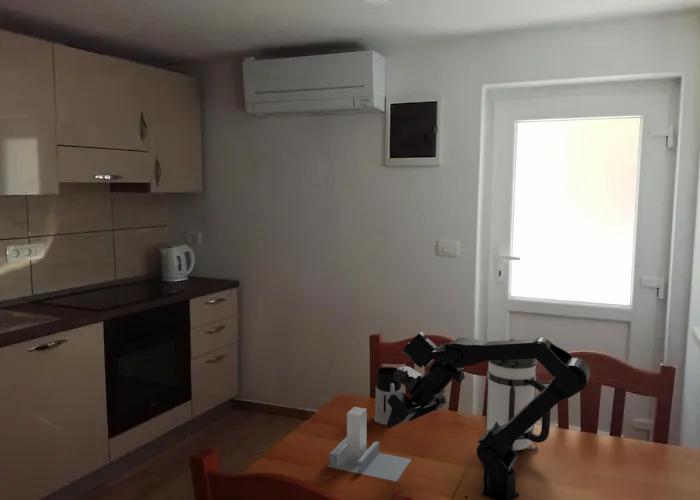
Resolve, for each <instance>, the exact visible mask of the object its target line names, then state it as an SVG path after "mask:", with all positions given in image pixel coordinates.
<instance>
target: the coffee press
mask: <svg viewBox="0 0 700 500" xmlns="http://www.w3.org/2000/svg"><path fill="white" fill-rule="evenodd" d="M510 340H515V338H511V339H510ZM487 362H488V368H487V375H486V376H487V379H486V381H487V384H486V395H487V401H486V404H485V405H486V409H485V410H486V411H485V413H486V414H485V423H486V430H489V429H491V428H492V427H493V425H494V424H495V422H497V423H498V424H499V425H500V426H502V425H504V424H506V423H508V422H509V421H510V420H511V419H512V418H513V417H514V416H515V415H516V414H518V413H519V412H520V411H521V410H522V409H523V408H524V407H525V406H526V405H527V404H528V403H530V402H531V401H532V400H533V399H534V398H535V397H536V390H538V392H539V393H540V392H542V391H543V390H544V389H545V388H546V387H547V386H545V385H544V383H543V382H541V381H539V380H537V373H536V366H537V365H538V360H537V359H516V360H493V361H487ZM551 410H552V409H550V410H549V411H548V412H547V413H546V414H545V415H544V416H543V417H541V430H540V434H538V435H537V434H534V433H535V432H534V431H535V428H534V427H535V424H534V425H532V426H531V427H530V428H529V429H528V430H527V431H526V432H525V433H524V434H522V435H521V436H520V437H519V438H518V439H517V440H516V441H515V442H514V443H513V445H512V446H511V449H512V450H513V451H521V450H525V449H527V448H528V447H529V448H530V449H531V450H532V451H537V450H538V443H543V442H545V441H546V440H547V439H548V437H549V435H550V429H551ZM532 442H533V443H534V445H535V446H536V447H533V445H531V444H532Z"/></svg>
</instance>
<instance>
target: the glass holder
mask: <svg viewBox="0 0 700 500" xmlns="http://www.w3.org/2000/svg"><path fill="white" fill-rule="evenodd" d="M398 368H399V367H394V366H393V367H392V366H383V367H379V368H377V369H376V371H375V372H376V376H375V377H376V378H375V379H376V380H375V381H376V383H375V407H374V408H375V409H374V410H375V414H374V417H373V420H374V422H376V423H378V424H381V425H386V426H387V422H388V419H389V416H390V414H391V410H392V408H391V406H390V405H389V404H388V402H387V399H388V398H389V397H390V395H391V394H395V393H398V392H402V390H403V388H402V386H403V384H401V383H399V382H397V381H395V379H394V374H393V373H394V372H395V371H396V370H397V369H398ZM402 393H403V392H402Z"/></svg>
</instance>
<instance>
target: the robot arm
mask: <svg viewBox="0 0 700 500" xmlns="http://www.w3.org/2000/svg"><path fill="white" fill-rule="evenodd" d="M402 353H404V355H405V356H407V357H408V359H409V360H411V361H412V363H414V364H415V365H416V366H417V367H418V368H422V369H423V367H424V368H428V367H429V365H430V364H432V365H431V366H430V367H429V368H428V369H427V370H426V371H425V373H424V374H422V373H420V372H419V371H417V370H415V368H412V367H410V366H407V365H403V366H400V367H397V368H398V369H397V370H396V371H395V372H394V373H393V374H394V379H395V381H397V382H399V383H401V385H402V386H405V387H406V388H405V391H406V392H407V393H408V394H409V395H410V397H411V398H409V397H408V396H407V395H406V393H404V392H398V393H395V394H391V395H390V397H389V398H388V399H387V402H388V404H389V405H390V406H391V408H392V410H391V414H390V416H389V419H388V422H387V425H386V427H387V428H388V429H391V428H394V427H396V426H399V425H400V424H403V423H404V422H407V421H409V422H412V421H414V420H417V419H418V418H421V417H423V416H425V415H428V414H430V413H432V412H435V411H438V410H439V409H441V408H442V407H443V406H444V405H445V404H446V400H447V399H446V398H447V397H446V396H445V395H444V393H445V392H446V390H445V389H446V388H447V386H448V385H450V383H451V382H452V381H453V380H455V381H456V382H457V383H459V384H460V383H462V381H463V380H464V379H466V377H465V373H464V371H465V369H464V368H465V367H469V366H473V365H475V364H478V363H483V362H488V361H493V360H516V359H537V362H539V363H540V364H541V365H542V366H543V367H544V369H545V370H546V371H547V372H548V373H549V374H550V375H551V376H552V377H553V378H552V379H551V381H550V382H549V383H548V385H547V386H545V387H546V388H545V389H544V390H543V391H542V392H540V391H539V393H538V394H537V395H535V398H534V399H533V400H532V401H531V402H530V403H528V404H527V405H526V406H525V407H524V408H523V409H522V410H521V411H520V412H519V413H518V414H516V415H515V416H514V417H513V418H512V419H511V420H510V421H509V422H508V423H506V424H504V425H502V426H500V425H499V424H498V423H497V422H495V424H494V425H493V427H492V428H491V429H489V430H487V429H485V432H483V434H482V435H481V437H480V438H479V439H478V443H479V444H478V445H477V446H476V455H477V458H478V459H479V461H480V462H481V463H482V467H483V488H481V489H480V491H479V493H480V494H481V495H484V496H486V497H487V498H489V499H491V500H513V499H515V498H517V497H519V496H520V492H519V491H517V490H516V479H517V472H516V470H514V468H513V466H514V465H515V463H516V462H517V459H518V454H517V453H516V452H515V450H512V449H511V446H512V445H513V443H514V442H515V441H516V440H517V439H518V438H519V437H520V436H521V435H522V434H524V433H525V432H526V431H527V430H528V429H529V428H530V427H531V426H532V425H534V426H535V424H536V423H537V422H538V421H539V420H541V419H542V417H543V416H544V415H545V414H546V413H547V412H548V411H549V410H550V409H551V410H552V409H553V408H554V407H555V406H556V405H557V404H558V403H560V402H562V401H565V400H568V399H570V398H571V397H573V396H575V395H576V394H578V393H580V392H582V391H583V390H584V389H585V388H586V386H587V385H588V382H589V379H590V377H591V368H590V366H589V364H588V363H587V362H586V361H585V360H583V359H582V358H578V357H575V356H574V355H572V354H571V353H569V352H568V351H566V350H565V349H563V348H561V347H559V346H557V345H556V344H554V343H552V341H550V340H549V339H547V338H546V337H537V338H529V339H528V338H527V339H514V340H511V339H510V340H496V341H495V340H492V341H482V340H479V339H477V338H468V337H457V338H455V339H454V340H453V341H451V342H450V343H443V344H440V345H438V346H437V345H436V344H435V343H434V342H433V341H432V340H430V339H429V337H428V336H427V335H426V334H425V333H424V332H423V331H421V332H418V333H417V334H416V336H415V337H414V338H413V339H412V340H411V341H410V342H408V343H407V344H406V345H405V347H403V349H402ZM433 361H434V362H433Z"/></svg>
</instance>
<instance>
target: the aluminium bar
mask: <svg viewBox="0 0 700 500" xmlns="http://www.w3.org/2000/svg"><path fill="white" fill-rule="evenodd" d="M367 413H368V411H367V408H364V407H359V406H353V407H352V408H351V409H349V410H348V411H347V413H346V437H347V463H351V464H356V465H358V461H359V459H360V458H361V457H362V456H363V455H364V454H365V453H366V450H367V433H368V432H367V431H368V430H367V428H368V427H367V423H368V422H367V416H368V414H367Z"/></svg>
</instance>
